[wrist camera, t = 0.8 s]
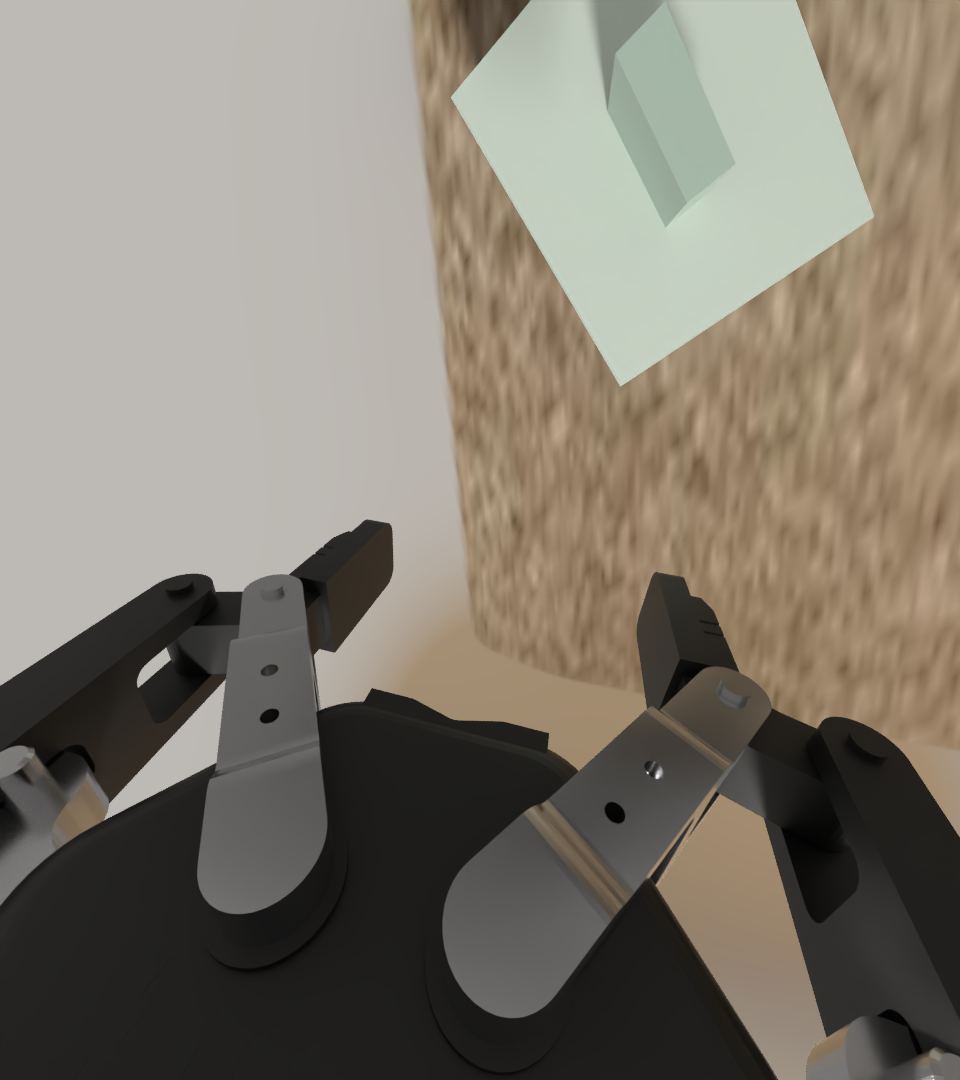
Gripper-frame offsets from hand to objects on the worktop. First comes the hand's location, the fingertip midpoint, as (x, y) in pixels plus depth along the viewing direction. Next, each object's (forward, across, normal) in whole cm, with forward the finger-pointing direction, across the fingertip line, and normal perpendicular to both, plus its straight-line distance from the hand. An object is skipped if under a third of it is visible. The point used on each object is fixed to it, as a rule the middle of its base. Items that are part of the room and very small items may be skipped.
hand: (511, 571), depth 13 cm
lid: (+20, -3, -14) cm, 24 cm away
